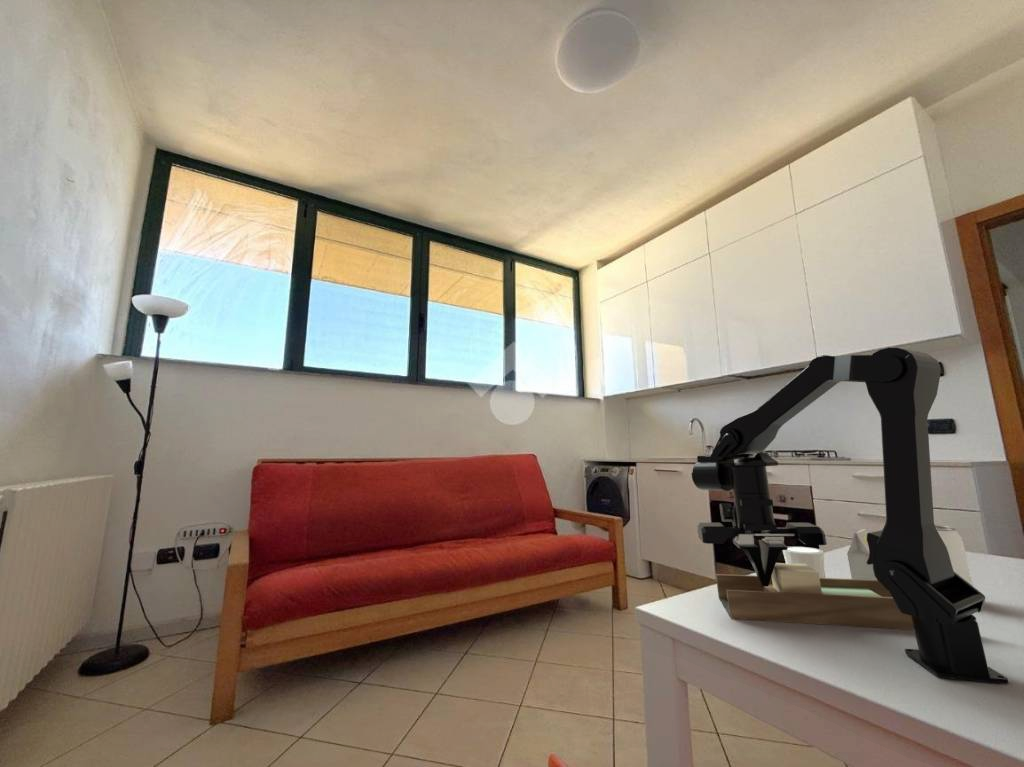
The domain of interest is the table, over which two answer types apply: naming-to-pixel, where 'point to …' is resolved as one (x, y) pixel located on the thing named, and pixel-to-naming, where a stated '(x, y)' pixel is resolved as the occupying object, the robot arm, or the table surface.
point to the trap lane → (813, 603)
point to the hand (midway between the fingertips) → (764, 585)
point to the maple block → (795, 578)
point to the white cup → (806, 558)
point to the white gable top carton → (860, 557)
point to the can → (955, 551)
